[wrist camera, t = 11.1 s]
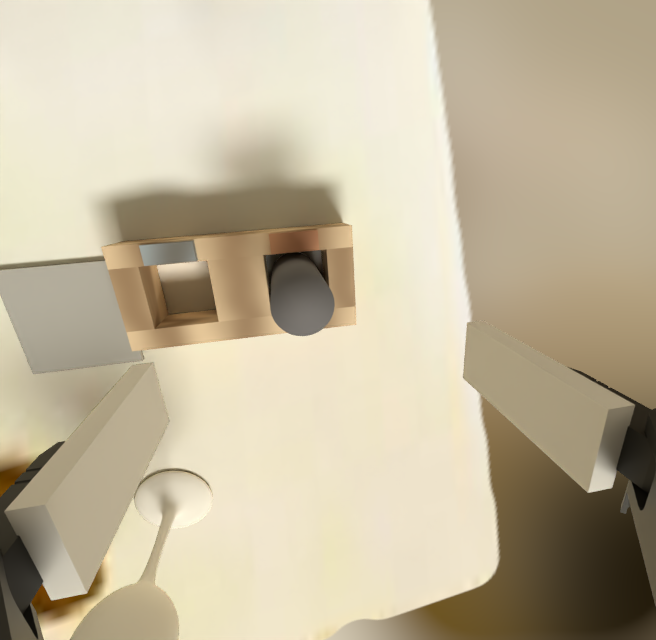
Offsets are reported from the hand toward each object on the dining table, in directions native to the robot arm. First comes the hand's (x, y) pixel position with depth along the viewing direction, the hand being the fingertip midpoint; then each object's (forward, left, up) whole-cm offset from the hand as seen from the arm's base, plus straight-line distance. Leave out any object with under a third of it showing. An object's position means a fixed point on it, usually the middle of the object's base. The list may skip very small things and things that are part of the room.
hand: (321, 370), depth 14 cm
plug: (0, 0, -20) cm, 20 cm away
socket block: (-5, 0, -20) cm, 21 cm away
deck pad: (-21, -2, -20) cm, 29 cm away
